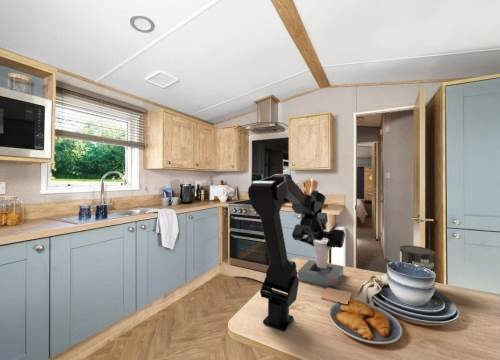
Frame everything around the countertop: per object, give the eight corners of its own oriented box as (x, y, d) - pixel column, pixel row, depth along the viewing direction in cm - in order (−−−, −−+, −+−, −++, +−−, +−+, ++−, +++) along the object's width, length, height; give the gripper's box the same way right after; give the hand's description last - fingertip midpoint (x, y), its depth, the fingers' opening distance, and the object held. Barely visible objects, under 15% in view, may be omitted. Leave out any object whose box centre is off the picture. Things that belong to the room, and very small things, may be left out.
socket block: (336, 289, 81) (336, 279, 80) (298, 280, 88) (298, 271, 88) (343, 275, 93) (343, 266, 92) (308, 268, 100) (309, 259, 100)
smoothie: (332, 269, 87) (332, 232, 87) (315, 269, 87) (315, 232, 87) (327, 263, 93) (326, 228, 93) (311, 263, 93) (310, 229, 93)
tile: (347, 305, 70) (347, 304, 70) (321, 298, 74) (321, 297, 74) (351, 294, 77) (351, 293, 77) (327, 288, 81) (327, 287, 81)
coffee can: (442, 298, 75) (443, 255, 75) (407, 295, 77) (408, 253, 77) (424, 284, 85) (425, 246, 85) (394, 281, 87) (394, 244, 87)
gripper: (344, 208, 81) (351, 233, 90) (295, 204, 92) (305, 227, 101) (337, 234, 75) (345, 259, 84) (286, 227, 86) (298, 249, 95)
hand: (322, 247), depth 91 cm, fingers closed on smoothie, 6 cm apart
